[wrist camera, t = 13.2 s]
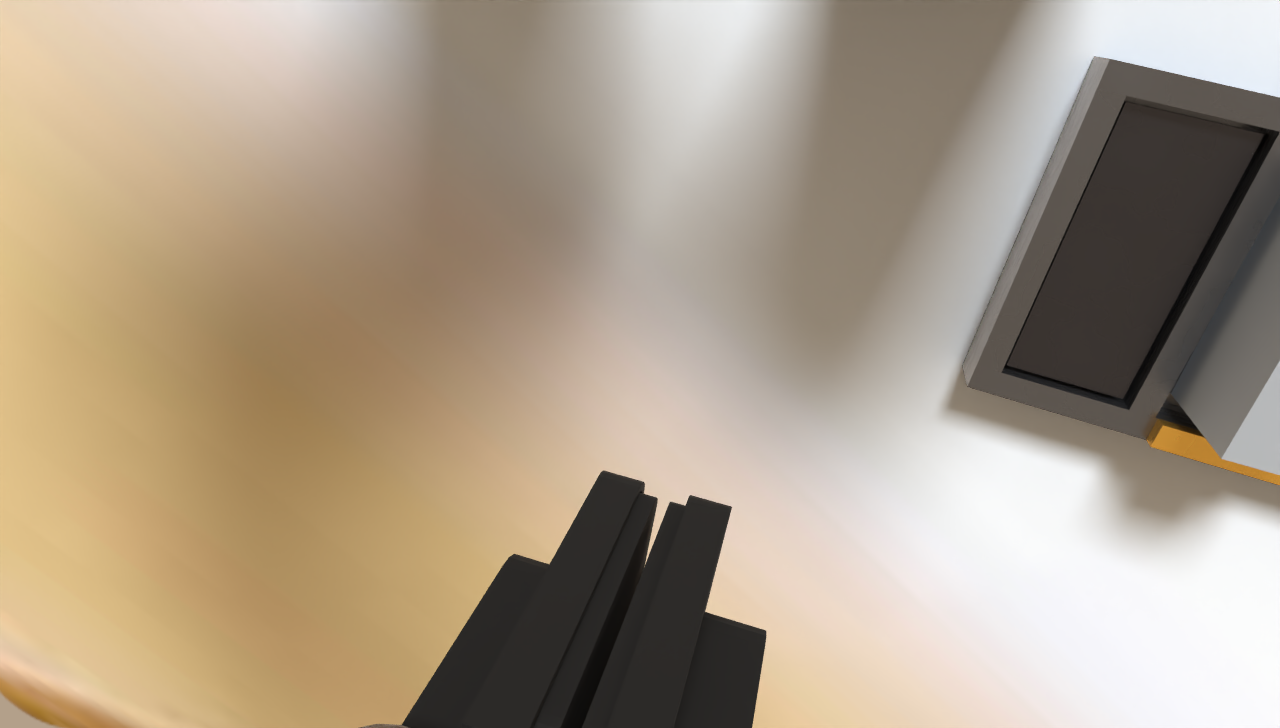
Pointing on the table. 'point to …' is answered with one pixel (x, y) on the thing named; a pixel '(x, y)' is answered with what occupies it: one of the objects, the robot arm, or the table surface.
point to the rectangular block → (1241, 362)
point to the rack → (1131, 252)
